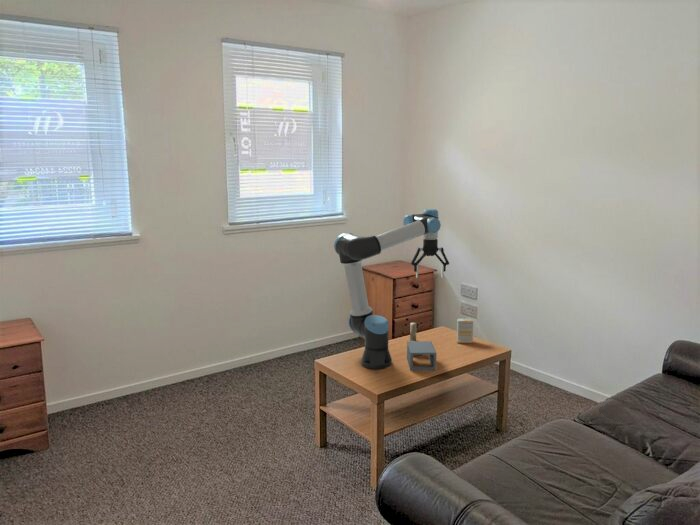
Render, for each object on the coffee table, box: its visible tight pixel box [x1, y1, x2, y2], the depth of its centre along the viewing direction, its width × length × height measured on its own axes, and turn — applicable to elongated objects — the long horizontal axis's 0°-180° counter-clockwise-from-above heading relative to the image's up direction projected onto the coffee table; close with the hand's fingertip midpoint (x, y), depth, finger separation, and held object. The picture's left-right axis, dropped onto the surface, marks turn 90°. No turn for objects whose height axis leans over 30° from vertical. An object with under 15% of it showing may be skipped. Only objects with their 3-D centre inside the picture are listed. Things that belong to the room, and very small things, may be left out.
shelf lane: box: [406, 340, 437, 372], centre depth 272 cm, size 12×16×9 cm
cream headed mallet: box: [409, 322, 424, 357], centre depth 295 cm, size 6×25×10 cm, turn 179°
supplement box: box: [456, 317, 474, 344], centre depth 302 cm, size 8×5×13 cm, turn 84°
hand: (429, 277), depth 296 cm, fingers open, 13 cm apart
